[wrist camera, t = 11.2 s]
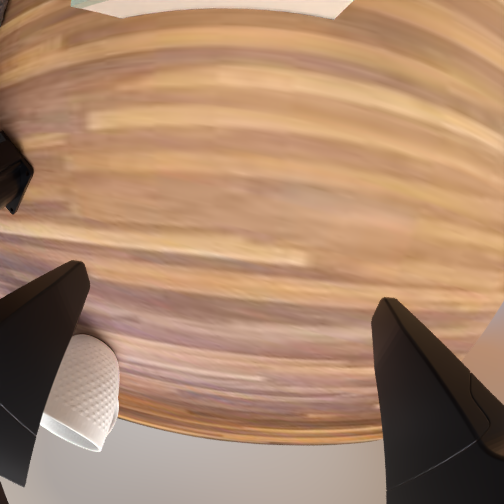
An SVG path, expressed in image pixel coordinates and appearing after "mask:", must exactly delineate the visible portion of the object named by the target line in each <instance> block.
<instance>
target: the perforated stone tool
mask: <svg viewBox="0 0 504 504" xmlns="http://www.w3.org/2000/svg"><path fill="white" fill-rule="evenodd" d="M7 3H8V0H0V26H1V22H2V20H3V19H4V18H3V16H4V10H5V9H6V7H7Z"/></svg>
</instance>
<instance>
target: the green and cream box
mask: <svg viewBox="0 0 504 504" xmlns="http://www.w3.org/2000/svg"><path fill="white" fill-rule="evenodd" d="M353 1H354V0H72V1H71V7H76V8H81V9H85V10H90V11H94V12H99V13H103V14H107V15H111V16H114V17H118V18H127V17H132V16H138V15H144V14H151V13H158V12H166V11H176V10H189V9H211V8H237V9H259V10H272V11H282V12H290V13H298V14H305V15H311V16H317V17H322V18H328V19H333V20H334V19H335V18H336V17H337V16H338V15H339V14H340V13H341V12H342V11H343V10H344V9H345V8H346V7H347V6H348V5H350V4H351V3H352V2H353Z"/></svg>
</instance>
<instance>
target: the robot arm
mask: <svg viewBox="0 0 504 504" xmlns="http://www.w3.org/2000/svg"><path fill="white" fill-rule="evenodd" d="M28 172H29V173H28ZM32 176H33V169H32V168H31V167H30V165H29V164H28V163H27V162H26V160H25V159H24V158H23V157H22V155H21V154H20V153H19V152H18V150H17V149H16V148H15V146H14V145H13V144H12V143H11V141H10V140H9V139H8V137H7V136H6V134H5V133H4V132H3V131H0V210H1V209H2V208H4V207H5V206H6V208H7V209H8V210H9V211H10V213H11V214H15V213H16V212H17V210H18V207H19V205H20V203H21V200H22V198H23V196H24V193H25V191H26V189H27V187H28V185H29V183H30V180H31V178H32ZM89 289H90V281H89V278H88V274H87V271H86V267H85V264H84V263H83V262H81V261H76V260H71V261H69V262H67V263H65V264H63V265H61V266H59V267H57V268H56V269H54V270H52V271H50V272H48V273H46V274H44V275H42V276H40V277H39V278H37V279H35V280H33V281H31V282H29V283H28V284H26V285H24V286H22V287H20V288H19V289H17V290H15V291H13V292H12V293H10V294H8V295H6V296H5V297H3V298H1V299H0V476H2V477H4V478H6V479H8V480H10V481H12V482H14V483H16V484H18V485H20V486H22V487H25V484H26V478H27V474H28V469H29V464H30V460H31V456H32V451H33V447H34V444H35V440H36V435H37V432H38V429H39V425H40V422H41V419H42V415H43V412H44V409H45V406H46V403H47V400H48V397H49V394H50V391H51V388H52V386H53V383H54V380H55V377H56V375H57V372H58V369H59V367H60V364H61V362H62V359H63V357H64V354H65V352H66V350H67V347H68V345H69V343H70V340H71V338H72V336H73V333H74V331H75V328H76V326H77V323H78V320H79V317H80V314H81V311H82V308H83V306H84V303H85V300H86V297H87V295H88V292H89ZM371 326H372V339H373V354H374V369H375V376H376V383H377V389H378V397H379V404H380V412H381V421H382V430H383V441H384V453H385V468H386V490H387V491H386V499H387V504H504V405H503V404H502V403H501V402H500V401H499V400H498V399H497V398H496V397H495V396H494V395H493V394H492V393H491V392H490V391H489V390H488V389H487V388H486V387H485V386H484V385H483V384H482V383H481V382H480V381H479V380H478V379H477V378H476V377H475V376H474V375H473V374H472V373H470V370H469V369H468V368H467V367H466V366H464V364H463V363H462V362H461V361H460V360H459V359H458V358H457V357H456V356H455V355H454V354H453V353H452V352H451V351H450V350H449V349H448V348H447V347H446V346H445V345H444V344H443V343H442V342H441V341H440V340H439V339H438V338H437V337H436V336H435V335H434V334H433V333H432V332H431V331H430V330H429V329H428V328H427V327H426V326H425V325H424V324H423V323H421V322H420V321H419V320H418V319H417V318H416V317H415V316H414V315H413V314H412V313H411V312H410V311H409V310H408V309H407V308H406V307H404V306H403V305H402V304H401V303H400V302H399V301H398V300H397V299H395V298H389V297H384V298H382V299H381V300H380V302H379V304H378V306H377V308H376V311H375V313H374V315H373V317H372V321H371ZM0 504H9V503H8V501H7V498H6V496H5V493H4V490H3V488H2V485H1V482H0Z"/></svg>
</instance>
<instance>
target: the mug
mask: <svg viewBox="0 0 504 504" xmlns="http://www.w3.org/2000/svg"><path fill="white" fill-rule="evenodd" d="M119 374H120V373H119V366H118V361H117V358H116V356H115V354H114V352H113V351H112V350H111V349H110V348H109V347H108V346H107V345H106V344H105V343H103V342H102V341H100V340H99V339H97V338H95V337H93V336H90V335H86V334H78V335H75V336H72V338H71V340H70V343H69V345H68V347H67V350H66V352H65V354H64V357H63V359H62V362H61V364H60V367H59V369H58V372H57V375H56V377H55V380H54V383H53V386H52V388H51V391H50V394H49V397H48V400H47V403H46V406H45V409H44V412H43V415H42V419H41V422H40V425H41V426H43V427H44V428H46V429H47V430H49V431H51V432H52V433H54V434H55V435H57V436H59V437H61V438H62V439H64V440H66V441H68V442H70V443H72V444H74V445H77V446H79V447H82V448H84V449H87V450H91V451H96V452H99V451H101V450H102V447H103V444H104V441H105V438H106V436H107V435H108V434H109V433H110V431H111V430H112V428H113V427H114V424H115V422H116V420H117V416H118V411H119V402H118V392H119V391H118V390H119V380H120V378H119Z"/></svg>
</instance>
